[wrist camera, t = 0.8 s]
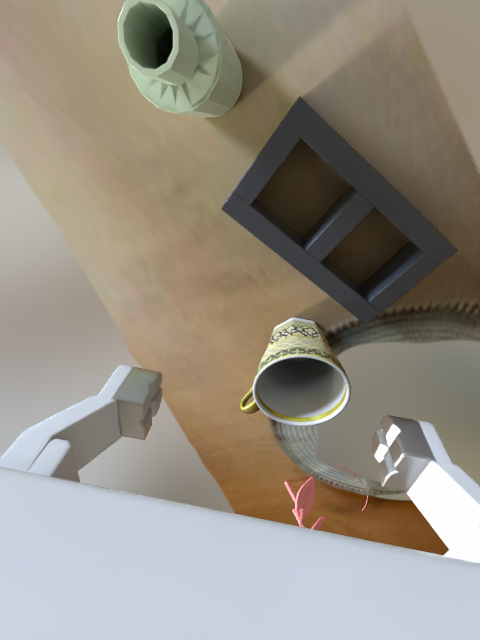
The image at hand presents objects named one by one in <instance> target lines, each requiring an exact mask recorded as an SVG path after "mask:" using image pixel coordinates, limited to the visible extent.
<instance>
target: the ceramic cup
mask: <svg viewBox="0 0 480 640" xmlns="http://www.w3.org/2000/svg"><path fill="white" fill-rule="evenodd" d="M252 395H253V397H254V401H253V402H252V403H250V404H249V405H248V406H246V407H245V404H246V402H247V401H248V399H249V398H250V397H251V396H252ZM350 395H351V386H350V382H349V380H348V377H347V375H346V373H345V371H344V369H343V367H342V365H341V363H340V362H339V360H338V359H337V357H336V356H335V355H334V353H333V351H332V350H331V348H330V346H329V344H328V342H327V340H326V338H325V336H324V334H323V333H322V332H321V330H320V329H319V327H318V326H317V325H316V323H315V322H314V321H311V320H306V319H300V318H295V317H293V318H291V319H289V320H287V321H285V322H283V323H282V324H280V325H278V326H276V327H275V328H274V331H273V334H272V336H271V339H270V342H269V345H268V347H267V350H266V352H265V354H264V356H263V358H262V360H261V362H260V365H259V367H258V370H257V373H256V376H255V379H254V382H253V388H252V389H251V390H250V391H249V392H248V393H247V394H246V395H245V396H244V398H243V399H242V401H241V404H240V407H241V409H242V411H243V412H244V413H247V414H250V413H254V412H256V411H258V410H259V409H261V411H262V412H263V413H265V414H266V415H267V416H269V417H270V418H272V419H274V420H276V421H278V422H281V423H284V424H288V425H293V426H312V425H317V424H321V423H324V422H326V421H329V420H331V419H333V418H334V417H336V416H337V415H338V414H340V413H341V412H342V411H343V410H344V408H345V407H346V405H347V404H348V402H349V399H350Z"/></svg>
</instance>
